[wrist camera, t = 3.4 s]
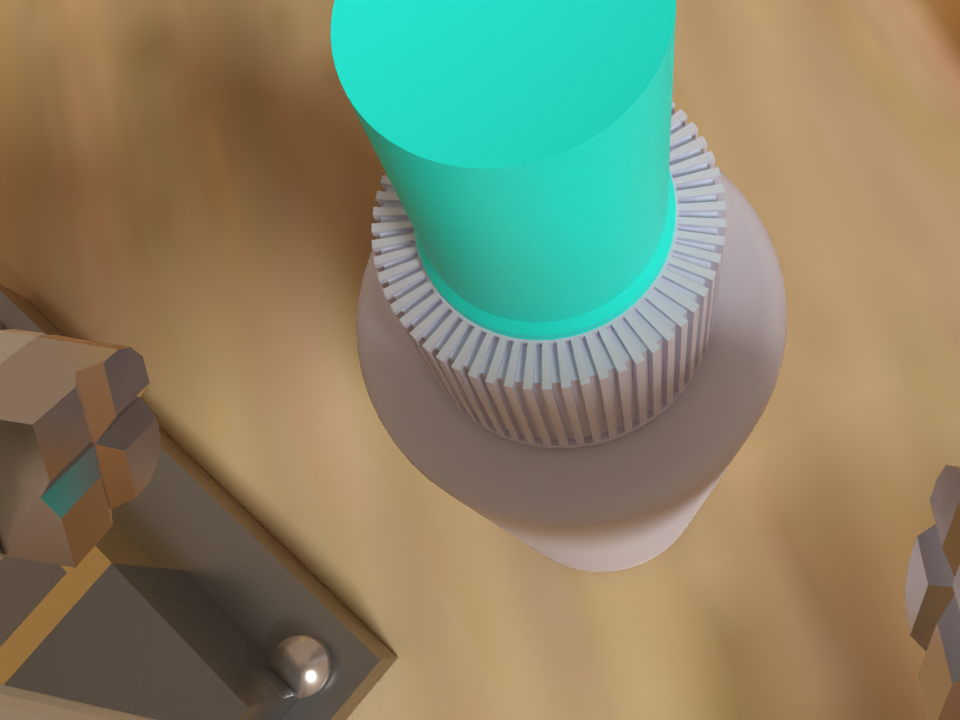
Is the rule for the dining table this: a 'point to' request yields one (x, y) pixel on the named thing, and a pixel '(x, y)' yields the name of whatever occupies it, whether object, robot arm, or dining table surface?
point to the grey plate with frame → (182, 608)
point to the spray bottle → (555, 269)
